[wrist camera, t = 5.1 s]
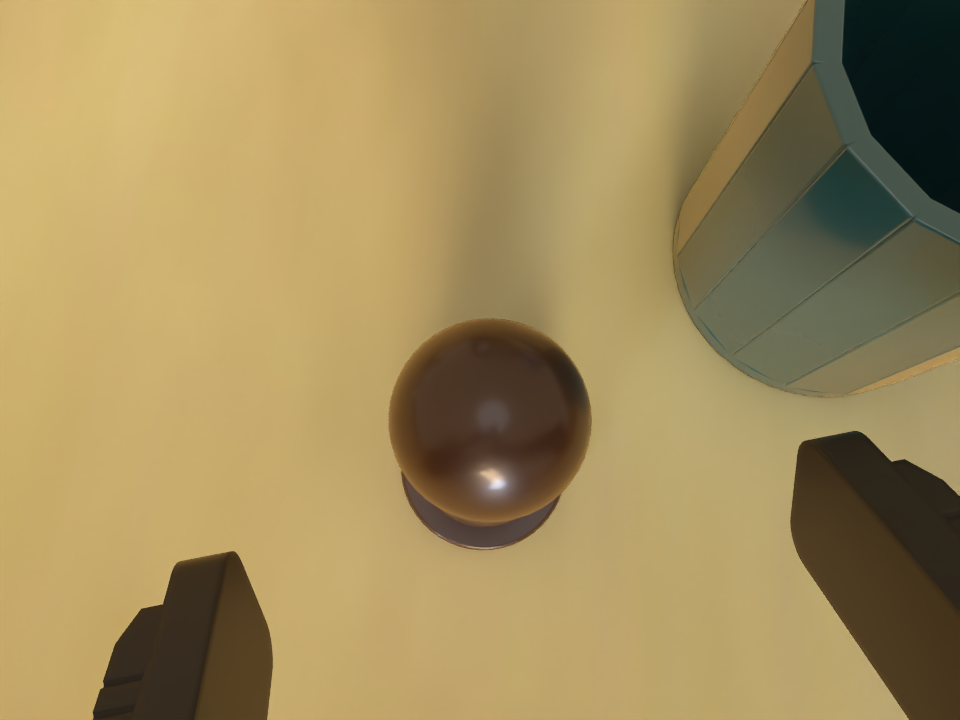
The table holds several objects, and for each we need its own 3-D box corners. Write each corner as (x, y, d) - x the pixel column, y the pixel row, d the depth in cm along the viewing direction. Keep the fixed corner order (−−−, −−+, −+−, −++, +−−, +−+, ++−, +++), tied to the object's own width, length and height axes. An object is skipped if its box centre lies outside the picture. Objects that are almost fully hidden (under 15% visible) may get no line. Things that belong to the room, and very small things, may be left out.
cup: (658, 373, 20) (801, 238, 11) (685, 119, 22) (825, -165, 13) (949, 418, 20) (1318, 315, 11) (951, 157, 22) (1270, -105, 13)
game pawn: (391, 536, 19) (321, 523, 10) (419, 381, 20) (377, 245, 11) (550, 561, 19) (619, 571, 10) (570, 404, 20) (651, 286, 11)
